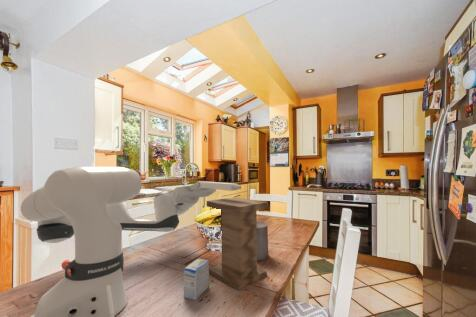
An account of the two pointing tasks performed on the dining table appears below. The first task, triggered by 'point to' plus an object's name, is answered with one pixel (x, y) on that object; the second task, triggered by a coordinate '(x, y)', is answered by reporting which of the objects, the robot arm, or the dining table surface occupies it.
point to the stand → (238, 241)
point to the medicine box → (196, 278)
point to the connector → (219, 185)
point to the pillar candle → (262, 241)
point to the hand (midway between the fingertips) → (203, 183)
